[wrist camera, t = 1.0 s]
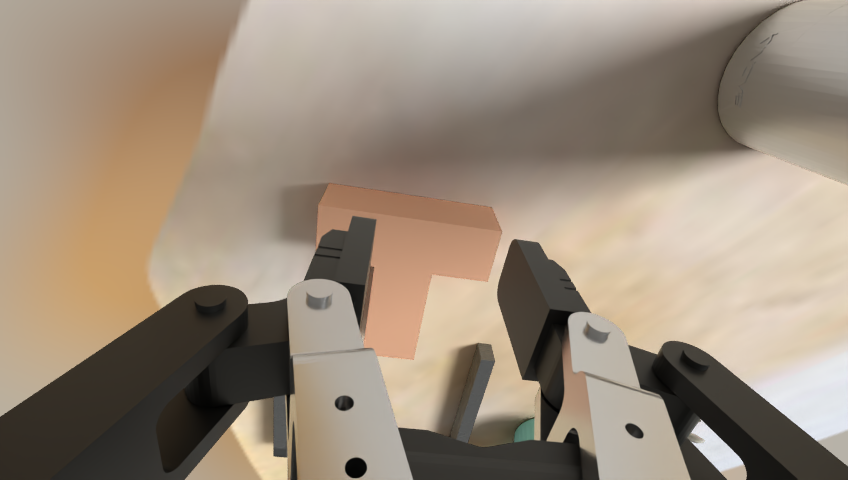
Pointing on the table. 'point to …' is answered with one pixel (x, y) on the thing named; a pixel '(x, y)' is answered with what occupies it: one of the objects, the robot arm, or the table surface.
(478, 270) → the T-block
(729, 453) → the table surface
